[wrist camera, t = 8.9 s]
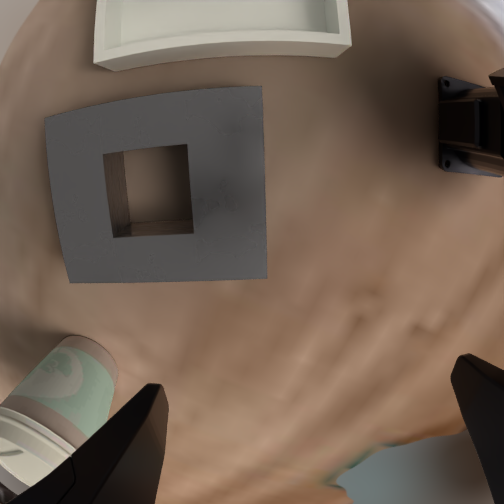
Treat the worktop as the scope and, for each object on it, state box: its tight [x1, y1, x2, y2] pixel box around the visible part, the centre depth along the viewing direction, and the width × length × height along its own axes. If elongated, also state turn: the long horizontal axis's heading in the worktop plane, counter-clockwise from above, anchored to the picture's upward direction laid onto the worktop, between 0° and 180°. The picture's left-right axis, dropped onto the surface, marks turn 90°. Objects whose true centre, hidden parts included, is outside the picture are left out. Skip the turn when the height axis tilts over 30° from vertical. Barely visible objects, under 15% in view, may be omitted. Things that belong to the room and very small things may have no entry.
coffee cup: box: [0, 336, 118, 487], centre depth 18 cm, size 8×9×12 cm
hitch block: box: [45, 86, 267, 283], centre depth 17 cm, size 12×10×3 cm
